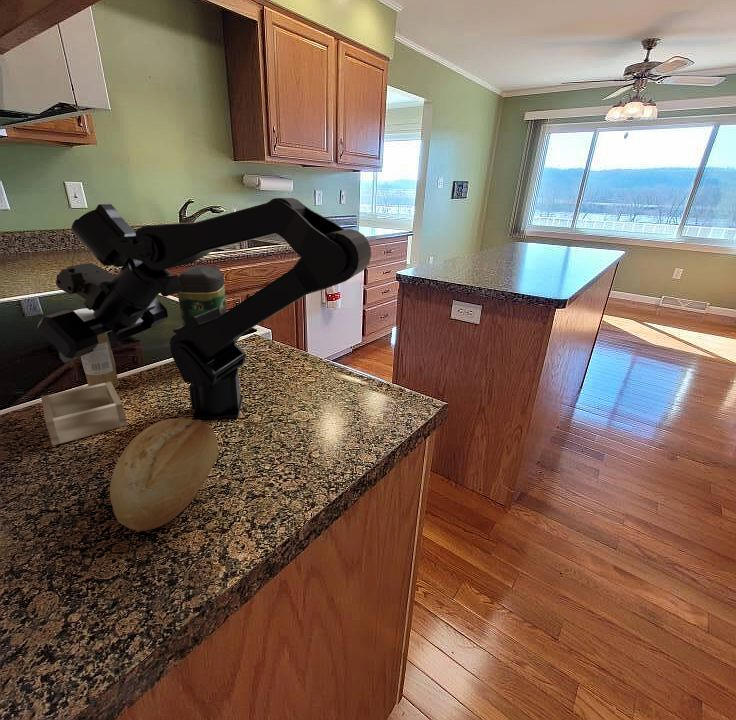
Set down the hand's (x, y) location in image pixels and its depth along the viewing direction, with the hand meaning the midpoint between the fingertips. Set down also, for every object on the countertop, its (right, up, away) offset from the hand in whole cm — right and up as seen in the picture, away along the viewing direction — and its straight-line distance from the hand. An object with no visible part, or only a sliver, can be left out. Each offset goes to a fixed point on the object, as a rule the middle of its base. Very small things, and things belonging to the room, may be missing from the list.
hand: (88, 349), depth 65 cm
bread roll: (+23, -17, -19) cm, 34 cm away
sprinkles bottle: (+1, -6, +2) cm, 7 cm away
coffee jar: (+14, -2, +15) cm, 21 cm away
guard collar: (+5, -11, -7) cm, 14 cm away
